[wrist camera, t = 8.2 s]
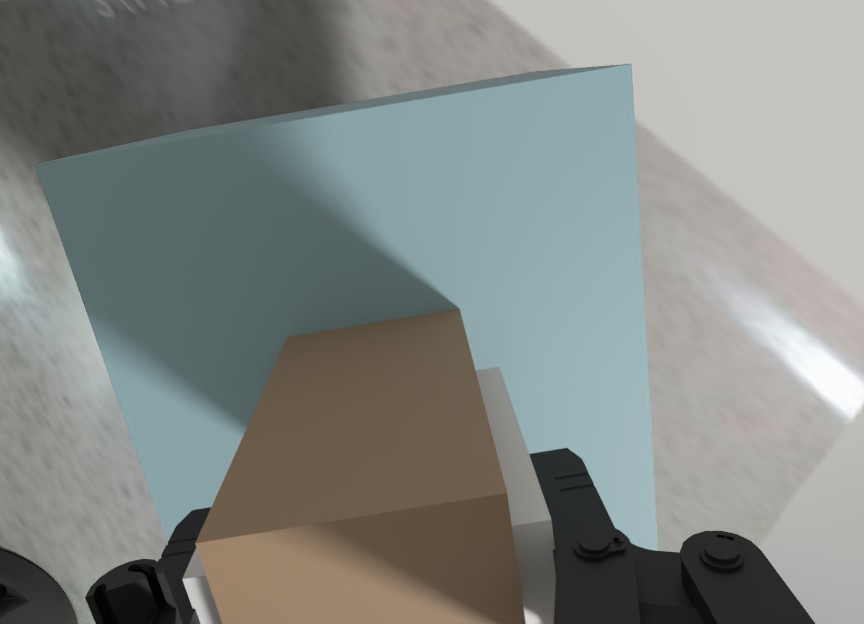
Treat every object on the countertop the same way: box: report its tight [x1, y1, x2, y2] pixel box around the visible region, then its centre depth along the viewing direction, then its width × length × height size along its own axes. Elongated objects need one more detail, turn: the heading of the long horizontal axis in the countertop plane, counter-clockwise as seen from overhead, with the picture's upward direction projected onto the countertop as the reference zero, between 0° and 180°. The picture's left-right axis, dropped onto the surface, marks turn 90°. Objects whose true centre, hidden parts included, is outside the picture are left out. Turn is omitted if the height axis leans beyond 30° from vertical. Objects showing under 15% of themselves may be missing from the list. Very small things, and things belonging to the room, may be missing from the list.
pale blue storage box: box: [34, 64, 658, 624], centre depth 22 cm, size 16×17×22 cm
